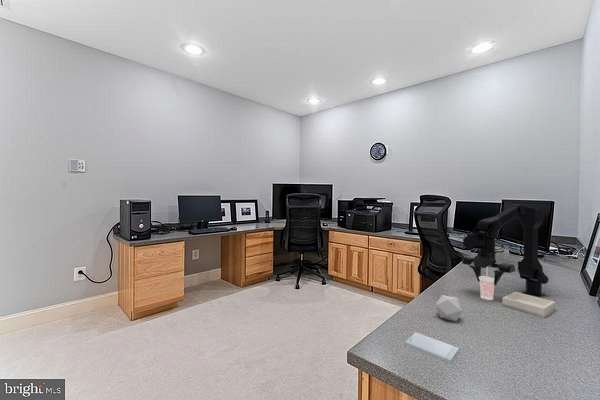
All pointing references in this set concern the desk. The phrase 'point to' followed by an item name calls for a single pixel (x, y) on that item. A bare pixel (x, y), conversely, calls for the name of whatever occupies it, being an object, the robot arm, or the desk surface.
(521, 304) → the tray
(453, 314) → the die
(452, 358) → the hard drive
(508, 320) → the desk surface
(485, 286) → the beverage cup
